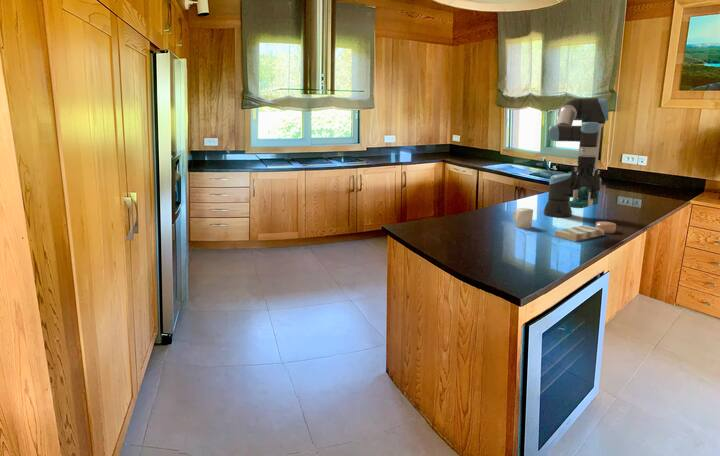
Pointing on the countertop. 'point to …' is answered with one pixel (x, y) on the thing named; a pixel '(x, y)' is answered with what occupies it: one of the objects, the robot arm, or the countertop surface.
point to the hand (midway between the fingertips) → (582, 204)
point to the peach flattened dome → (606, 226)
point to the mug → (523, 218)
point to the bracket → (583, 198)
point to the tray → (579, 233)
